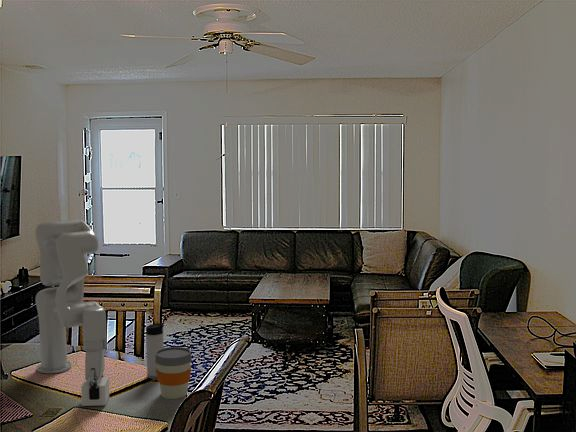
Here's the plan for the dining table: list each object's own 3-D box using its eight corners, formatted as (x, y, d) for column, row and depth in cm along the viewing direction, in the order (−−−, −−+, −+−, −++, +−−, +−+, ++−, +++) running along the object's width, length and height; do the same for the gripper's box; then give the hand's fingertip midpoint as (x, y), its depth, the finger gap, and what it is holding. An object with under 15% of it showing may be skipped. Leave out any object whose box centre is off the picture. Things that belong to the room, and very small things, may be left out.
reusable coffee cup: (162, 403, 225) (161, 360, 223) (151, 390, 236) (150, 349, 234) (197, 396, 231) (196, 354, 229) (185, 384, 242) (184, 344, 240)
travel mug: (161, 379, 247) (160, 327, 244) (144, 378, 248) (143, 326, 246) (167, 373, 253) (166, 322, 250) (151, 372, 254) (149, 321, 252)
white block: (86, 396, 229) (85, 377, 228) (109, 396, 230) (108, 377, 229) (81, 405, 222) (81, 386, 221) (105, 405, 222) (105, 385, 222)
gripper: (88, 336, 232) (90, 385, 234) (77, 352, 215) (80, 405, 217) (110, 335, 232) (112, 384, 235) (101, 351, 215) (103, 404, 217)
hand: (96, 394), depth 226 cm, fingers closed on white block, 7 cm apart
